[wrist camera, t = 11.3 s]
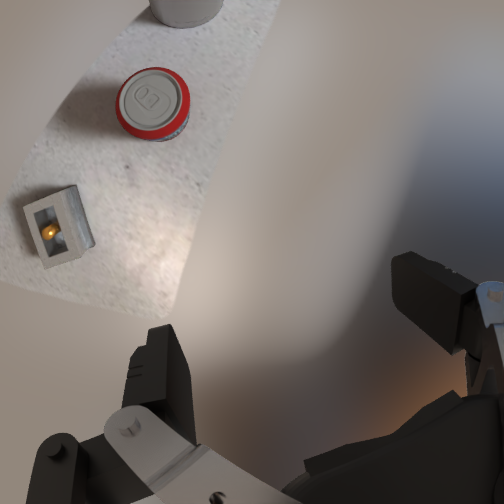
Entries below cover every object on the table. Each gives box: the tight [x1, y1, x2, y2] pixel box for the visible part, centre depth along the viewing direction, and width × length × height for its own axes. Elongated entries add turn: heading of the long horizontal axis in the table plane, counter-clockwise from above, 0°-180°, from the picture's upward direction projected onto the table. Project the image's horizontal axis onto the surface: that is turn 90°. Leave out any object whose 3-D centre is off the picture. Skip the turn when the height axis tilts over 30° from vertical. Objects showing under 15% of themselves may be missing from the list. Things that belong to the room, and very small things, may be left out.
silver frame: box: [23, 188, 89, 269], centre depth 33 cm, size 8×5×4 cm
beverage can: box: [116, 67, 190, 142], centre depth 29 cm, size 7×7×12 cm
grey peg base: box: [30, 185, 95, 249], centre depth 33 cm, size 8×7×5 cm
